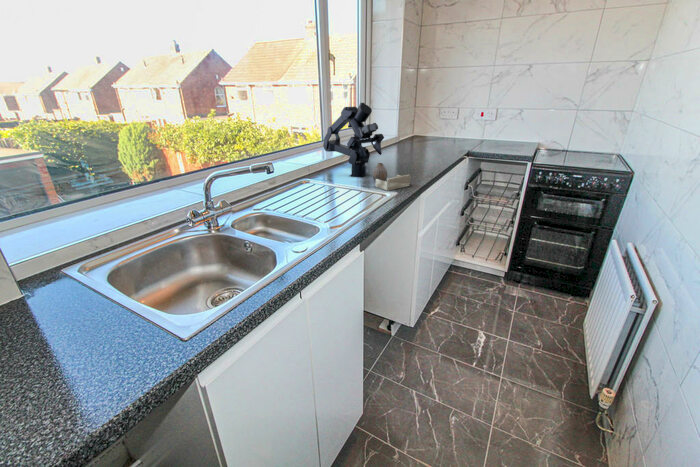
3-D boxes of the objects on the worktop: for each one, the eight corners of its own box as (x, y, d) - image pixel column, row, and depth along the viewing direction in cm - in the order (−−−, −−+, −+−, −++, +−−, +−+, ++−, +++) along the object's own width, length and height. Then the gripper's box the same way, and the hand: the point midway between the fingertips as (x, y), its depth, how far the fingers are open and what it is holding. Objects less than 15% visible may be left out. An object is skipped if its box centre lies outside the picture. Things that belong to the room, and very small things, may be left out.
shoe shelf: (375, 186, 147) (375, 175, 145) (396, 181, 155) (397, 171, 153) (388, 190, 141) (388, 179, 139) (409, 185, 148) (410, 174, 146)
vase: (371, 183, 152) (371, 164, 148) (373, 179, 158) (374, 161, 155) (386, 184, 150) (386, 165, 147) (388, 180, 157) (388, 162, 153)
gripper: (350, 118, 146) (365, 146, 142) (382, 116, 156) (397, 142, 152) (340, 134, 155) (354, 162, 151) (371, 131, 165) (385, 157, 161)
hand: (373, 155), depth 153 cm, fingers open, 9 cm apart
